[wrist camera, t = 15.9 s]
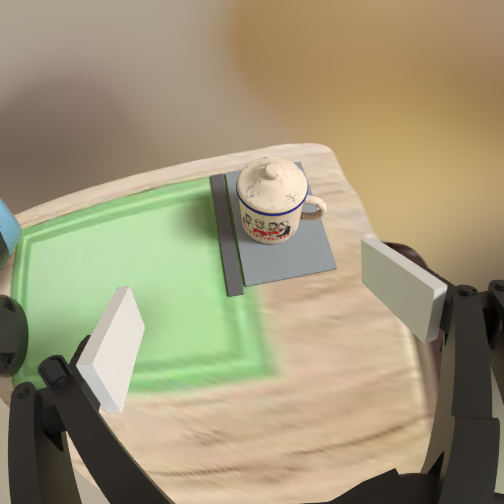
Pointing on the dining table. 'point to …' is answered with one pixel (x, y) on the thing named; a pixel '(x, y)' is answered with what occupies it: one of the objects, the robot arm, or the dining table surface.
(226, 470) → the dining table surface
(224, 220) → the black line strip
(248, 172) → the teacup with lid
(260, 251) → the slate mat
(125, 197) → the dining table surface
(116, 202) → the dining table surface
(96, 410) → the robot arm
